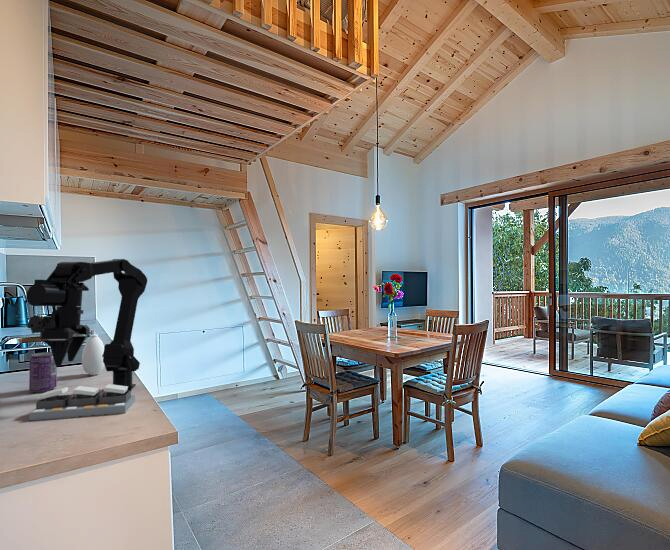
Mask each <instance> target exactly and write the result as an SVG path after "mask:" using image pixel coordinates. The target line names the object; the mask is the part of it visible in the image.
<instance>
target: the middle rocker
mask: <svg viewBox="0 0 670 550" xmlns="http://www.w3.org/2000/svg"><path fill="white" fill-rule="evenodd" d="M99 390H100V388H99V387H92V386H83V385H78V386H77V387H75V388H74V389H73V391H72V394H75V395H76V394H84V395H92V396H94V395H95V394H96V393H99Z"/></svg>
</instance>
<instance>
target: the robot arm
mask: <svg viewBox="0 0 670 550" xmlns="http://www.w3.org/2000/svg"><path fill="white" fill-rule="evenodd" d="M110 273H113V279H114V280H115V281H116V282H117V283H118V287H117V288H118V289H117V290H118V291H119V293H120V295H121V300H120V304H119V309H118V314H117V320H116V325H115V329H114V334H113V335H114V336H113V339H112V340H111V342H110V343H105V344H104V353H103V355H102V357H103V363H104V364H105V366H104V368H105V371H106V372H112V385H120V386H128V389H127V391H132V390H133V389H134V388H135V387H136V383H133V372H136V371H137V370H140V365H141V363H140V361H139V360H138V359H137V358H136V357H135V356H134V355H135V348H134V346H133V343H132V340H131V339H132V334H133V329H134V328H133V327H134V323H135V318H136V312H137V307H138V300H139V299H140V297H142V294H143V293H145V290H146V287H147V283H148V277H147V276H146V274H145V273H143V271H142V270H141V269H139V267H136V266H135V265H133V264H131V262H129V260H127V259H125V258H114V259H109V260H102V261H95V262H86V261H61V262H58V263H57V264H56V266H55V268H54V270H53V271H52V272H51V273H50V275H49V276H48V277H47V278H46V279H34V284H32V285H31V286H29V288H28V289H27V291H26V293H25V299H26V301H27V303H28V304H29V305H31V306H34V307H55V308H56V309H53V310H52V311H51V315H49V316H46V317H42V316H40V315H34V316H30V317H29V321H28V322H27V326H26V327H27V328H28V329H30V331H31V334H35V333H36V334H39V333H40V335H39V340H42V343H45V344H47V345H48V346H49V347H50V349H51V350H50V351H51V352H52V354H53V357H54V361H55V365H56V366H57V367H61V366H62V364H63V362H64V360H65V357H66V355H67V360H68V362H74V360H75V358H76V356H77V355H78V353H79V352H80V349H81V348H82V346H83V345H84V343H85V341H86V339H88V335H90V332H91V331H90V329H91V328H90V327H89V326H88V325H86V324H81V316H82V315H83V314H84V309H83V310H82V303H83V302H82V301H83V292H88V291H89V290H90V288H88V286H87V285H85V283H84V282H86V281H88V280H91V279H92V278H93V277H95V276H98V275H106V274H110Z"/></svg>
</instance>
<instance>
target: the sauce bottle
mask: <svg viewBox="0 0 670 550" xmlns="http://www.w3.org/2000/svg"><path fill="white" fill-rule="evenodd" d="M89 335H90V336H89V338H87V341H86V342H85V344H84V347H83V350H82V353H81V365H82V368H83V370H84V372H85V373H88V375H89V376H90V375H91V376H92V375H93V376H97V375H98V374H100V373H101V372H102V371H103V370H104V368H105V364H104V363H103V357H102V355H103V353H104V346H105V344H104V343H103V341H102V339H101V338H100V337H99V334H96V328H95V327H94V328H93V334H89Z"/></svg>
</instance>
